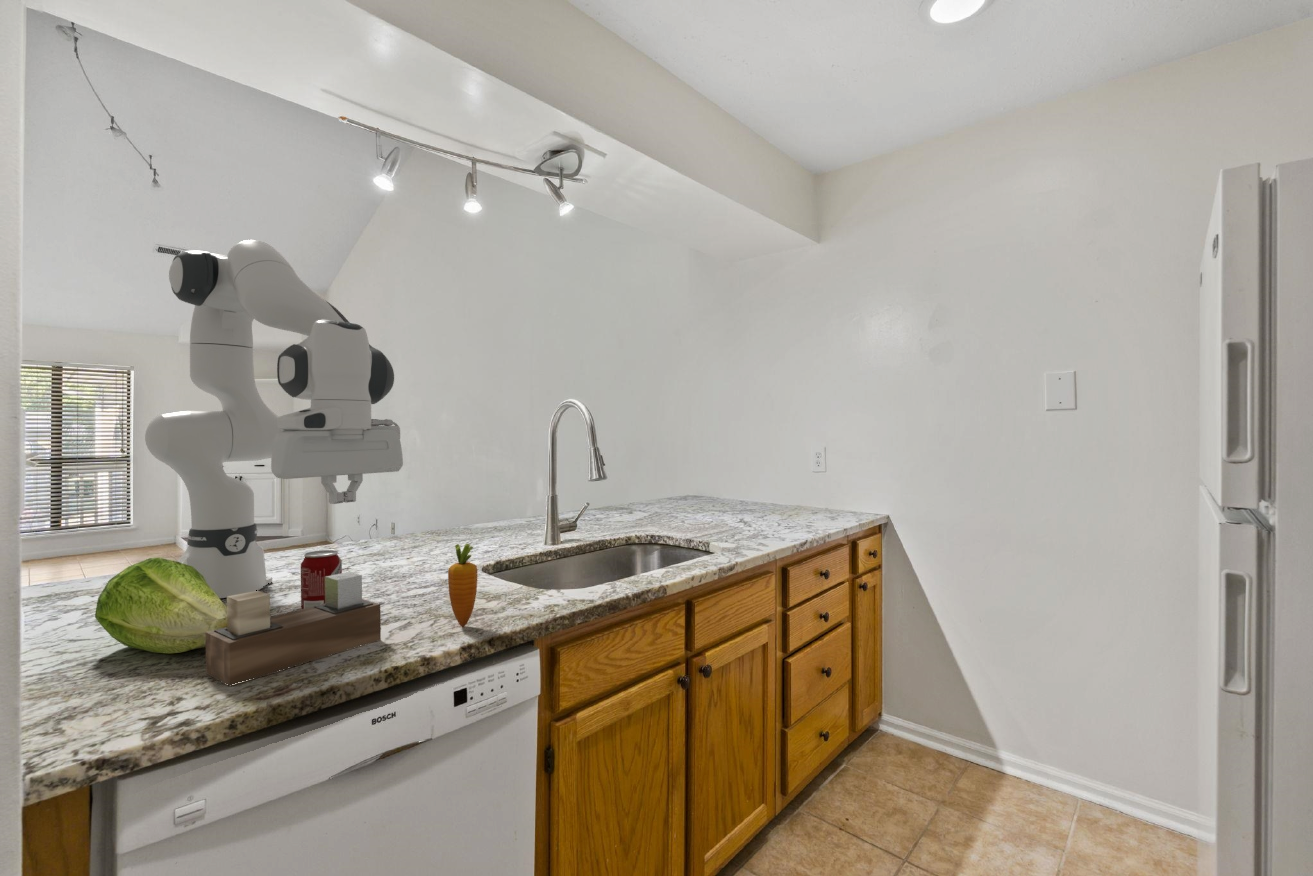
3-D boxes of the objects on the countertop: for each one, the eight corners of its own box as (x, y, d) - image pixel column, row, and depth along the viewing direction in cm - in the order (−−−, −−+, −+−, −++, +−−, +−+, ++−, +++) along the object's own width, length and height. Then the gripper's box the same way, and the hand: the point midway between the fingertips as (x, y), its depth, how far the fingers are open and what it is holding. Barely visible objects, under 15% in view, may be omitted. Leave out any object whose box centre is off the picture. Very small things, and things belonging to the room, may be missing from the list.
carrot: (448, 624, 109) (447, 541, 109) (476, 621, 111) (476, 539, 110) (448, 632, 104) (448, 546, 104) (478, 629, 106) (478, 544, 106)
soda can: (324, 623, 110) (323, 557, 109) (292, 620, 111) (291, 555, 111) (350, 612, 116) (349, 549, 116) (319, 610, 118) (319, 548, 117)
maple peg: (227, 637, 88) (226, 596, 88) (257, 630, 91) (257, 590, 91) (239, 643, 86) (238, 601, 85) (270, 635, 89) (269, 594, 89)
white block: (325, 613, 99) (324, 576, 99) (349, 607, 103) (348, 571, 103) (338, 617, 97) (337, 580, 97) (362, 611, 100) (361, 575, 100)
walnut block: (206, 673, 87) (205, 630, 87) (354, 630, 106) (354, 595, 105) (229, 686, 83) (229, 641, 83) (380, 639, 101) (380, 602, 101)
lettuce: (277, 652, 99) (169, 697, 85) (194, 619, 109) (88, 655, 96) (271, 566, 97) (161, 599, 83) (188, 542, 107) (79, 567, 94)
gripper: (389, 419, 110) (390, 495, 110) (265, 418, 93) (266, 508, 93) (410, 419, 106) (410, 497, 106) (285, 417, 89) (286, 511, 89)
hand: (342, 502), depth 100 cm, fingers closed
